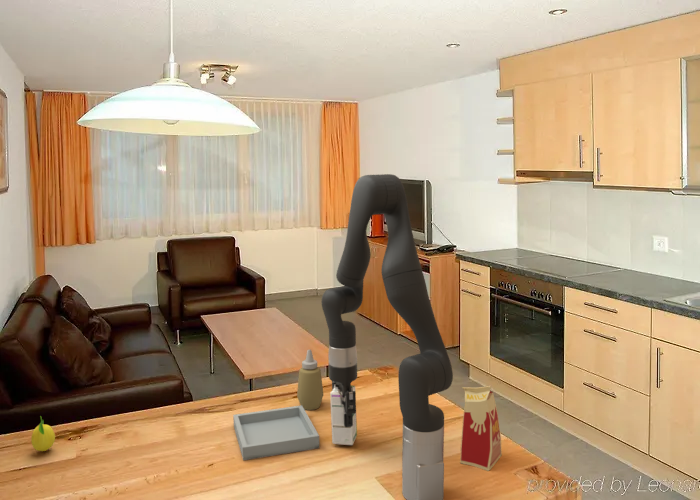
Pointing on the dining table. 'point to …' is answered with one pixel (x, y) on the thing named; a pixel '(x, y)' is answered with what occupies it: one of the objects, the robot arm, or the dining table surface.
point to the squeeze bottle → (310, 384)
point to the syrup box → (341, 421)
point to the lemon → (42, 437)
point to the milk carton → (480, 429)
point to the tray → (274, 432)
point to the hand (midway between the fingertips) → (343, 420)
